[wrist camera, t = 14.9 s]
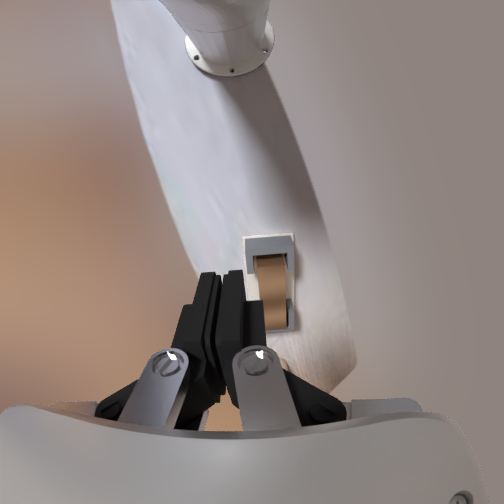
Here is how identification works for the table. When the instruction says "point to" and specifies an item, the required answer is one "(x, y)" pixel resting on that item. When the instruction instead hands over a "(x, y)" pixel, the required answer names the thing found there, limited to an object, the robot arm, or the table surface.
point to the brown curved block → (272, 289)
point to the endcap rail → (263, 247)
